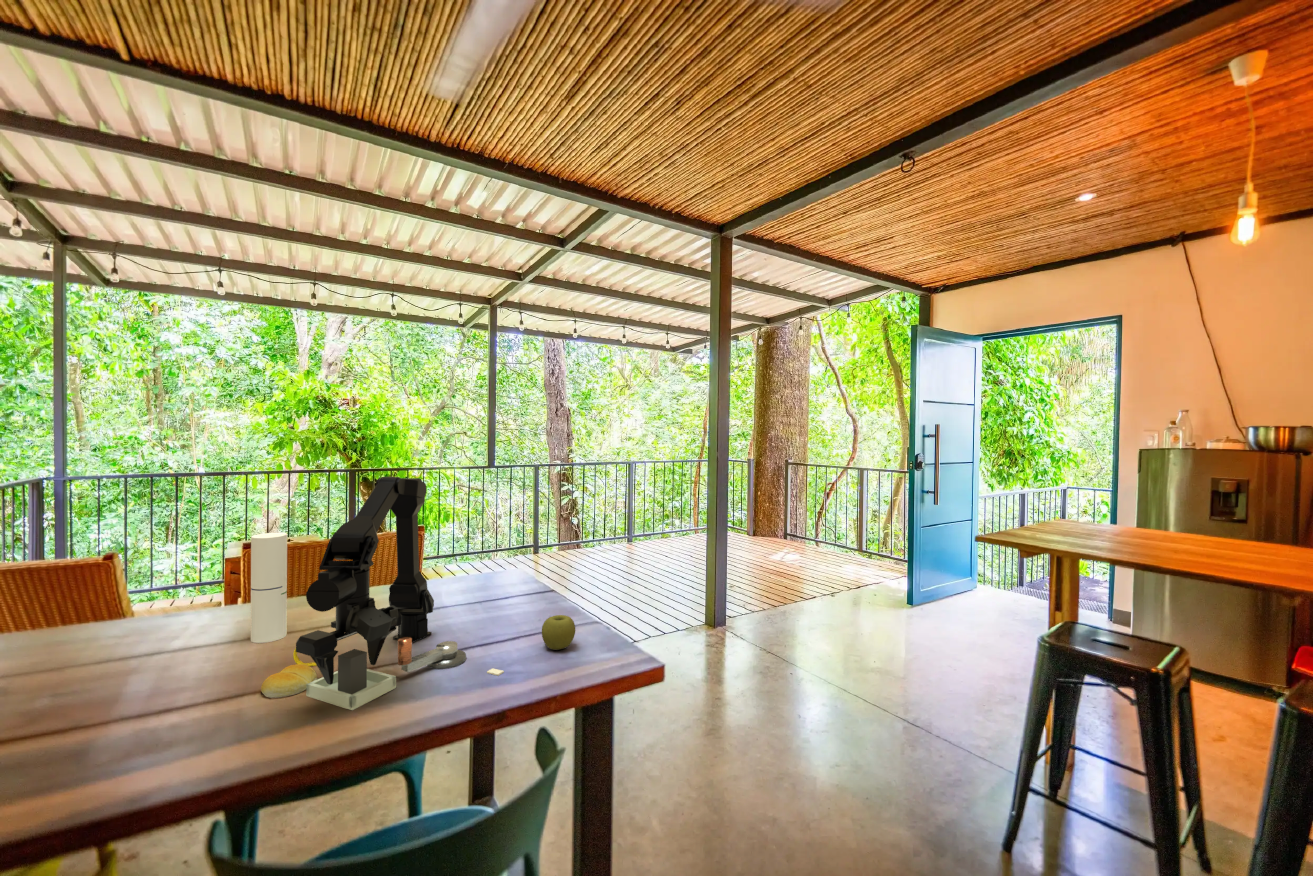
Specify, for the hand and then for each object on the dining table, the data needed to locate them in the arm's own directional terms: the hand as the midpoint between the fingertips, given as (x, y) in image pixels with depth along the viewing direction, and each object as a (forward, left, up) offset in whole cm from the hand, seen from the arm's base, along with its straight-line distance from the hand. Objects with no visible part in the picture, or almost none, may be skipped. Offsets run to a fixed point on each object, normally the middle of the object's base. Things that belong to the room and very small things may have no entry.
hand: (352, 674), depth 106 cm
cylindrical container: (-43, +10, -4) cm, 44 cm away
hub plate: (+6, +18, -4) cm, 20 cm away
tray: (0, 0, -4) cm, 4 cm away
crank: (+5, +14, -2) cm, 15 cm away
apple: (+24, +35, -4) cm, 43 cm away
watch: (-19, +4, -4) cm, 20 cm away
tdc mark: (+20, +18, -4) cm, 27 cm away
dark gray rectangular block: (0, 0, -3) cm, 3 cm away
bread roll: (-13, -4, -4) cm, 14 cm away
